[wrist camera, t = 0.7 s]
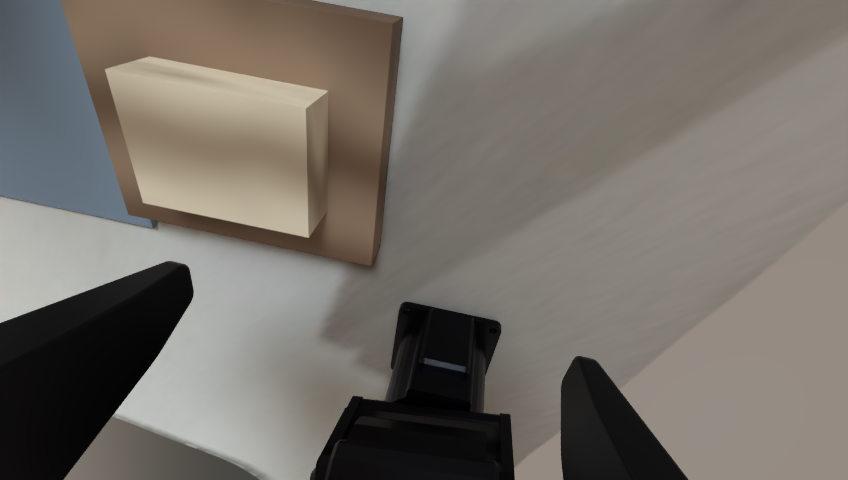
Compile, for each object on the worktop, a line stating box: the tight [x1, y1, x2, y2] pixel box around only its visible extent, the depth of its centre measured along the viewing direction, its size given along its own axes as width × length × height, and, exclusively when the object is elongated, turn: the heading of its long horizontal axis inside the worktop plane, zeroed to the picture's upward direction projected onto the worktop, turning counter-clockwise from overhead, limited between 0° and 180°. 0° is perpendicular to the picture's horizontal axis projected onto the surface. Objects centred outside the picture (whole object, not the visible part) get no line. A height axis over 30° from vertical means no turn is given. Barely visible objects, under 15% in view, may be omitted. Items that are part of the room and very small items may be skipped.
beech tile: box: [105, 56, 328, 238], centre depth 19 cm, size 6×8×2 cm
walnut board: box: [61, 0, 403, 266], centre depth 20 cm, size 12×14×2 cm
